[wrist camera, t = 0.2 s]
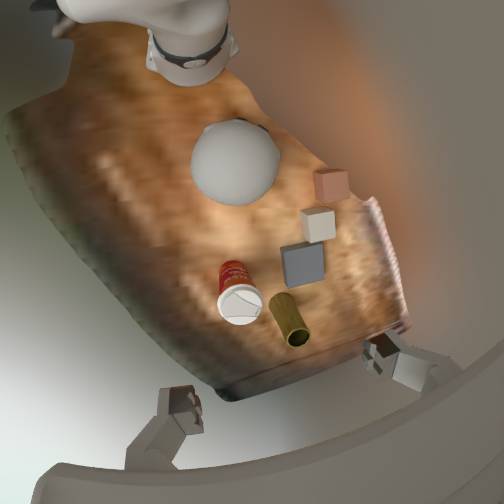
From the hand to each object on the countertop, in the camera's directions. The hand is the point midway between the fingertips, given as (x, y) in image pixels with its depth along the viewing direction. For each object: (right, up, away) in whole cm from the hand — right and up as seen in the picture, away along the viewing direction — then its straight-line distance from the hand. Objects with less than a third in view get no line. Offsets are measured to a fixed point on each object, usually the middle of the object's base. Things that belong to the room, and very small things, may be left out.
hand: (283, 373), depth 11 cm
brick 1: (+15, +21, +47) cm, 53 cm away
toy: (-6, +24, +42) cm, 48 cm away
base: (+10, +3, +52) cm, 53 cm away
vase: (+6, -7, +55) cm, 56 cm away
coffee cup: (-6, +1, +50) cm, 51 cm away
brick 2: (+12, +12, +49) cm, 52 cm away
